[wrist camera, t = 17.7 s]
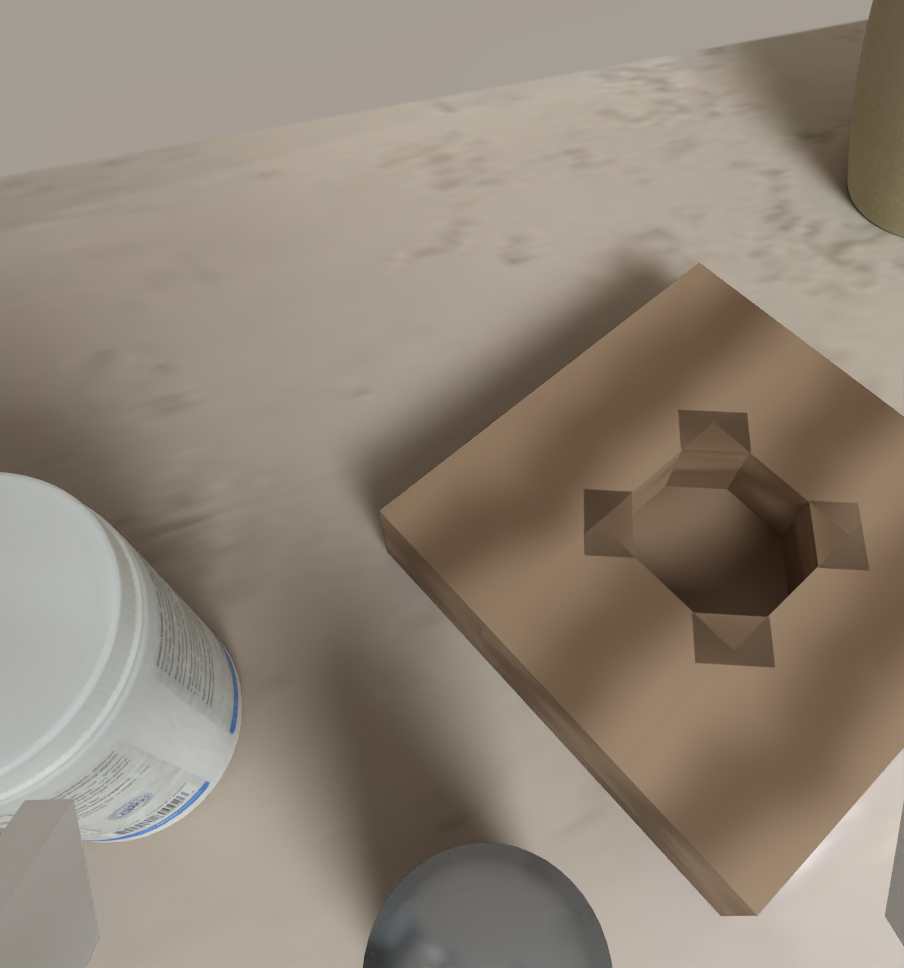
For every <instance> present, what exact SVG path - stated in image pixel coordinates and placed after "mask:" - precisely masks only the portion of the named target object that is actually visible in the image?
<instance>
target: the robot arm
mask: <svg viewBox="0 0 904 968" xmlns="http://www.w3.org/2000/svg"><path fill="white" fill-rule="evenodd" d="M885 917H886V918H887V920H888V922H889V923H890V925H891V926H892V928H893V930H894V931H895V933H896V935H897V936H898V938H899V939H900V941H901V943H902V944H903V946H904V804H903V810H902V816H901V822H900V828H899V834H898V840H897V846H896V852H895V858H894V864H893V870H892V876H891V882H890V888H889V894H888V900H887V906H886V912H885ZM99 939H100V933H99V928H98V922H97V917H96V912H95V907H94V902H93V897H92V892H91V886H90V881H89V876H88V871H87V866H86V861H85V855H84V850H83V845H82V840H81V835H80V830H79V824H78V819H77V814H76V809H75V804H74V799H53V800H25V801H24V802H23V804H22V805H21V806H20V808H19V809H18V811H17V812H16V813H15V815H14V816H13V818H12V819H11V820H10V822H9V823H8V825H7V826H6V827H5V829H4V830H3V832H2V833H1V835H0V968H86V966H87V964H88V962H89V960H90V958H91V956H92V953H93V951H94V949H95V947H96V945H97V943H98V941H99Z"/></svg>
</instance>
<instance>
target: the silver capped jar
mask: <svg viewBox="0 0 904 968" xmlns="http://www.w3.org/2000/svg"><path fill="white" fill-rule="evenodd" d="M363 968H612V962H611V958H610V954H609V949H608V945H607V942H606V939H605V936H604V933H603V931H602V928H601V925H600V923H599V921H598V919H597V917H596V915H595V913H594V911H593V909H592V908H591V906H590V905H589V903H588V902H587V900H586V899H585V897H584V896H583V894H582V893H581V892H580V891H579V889H578V888H577V887H576V886H575V885H574V883H573V882H572V881H571V880H570V879H569V878H568V877H566V876H565V875H564V874H563V873H562V872H561V871H560V870H559V869H557V868H556V867H555V866H553V865H552V864H551V863H549V862H548V861H546V860H544V859H543V858H541V857H539V856H537V855H535V854H533V853H531V852H529V851H526V850H523V849H521V848H518V847H514V846H510V845H505V844H498V843H471V844H466V845H461V846H456V847H453V848H451V849H448V850H445V851H442V852H440V853H438V854H436V855H434V856H432V857H430V858H428V859H427V860H425V861H424V862H423V863H421V864H420V865H418V866H417V867H415V868H414V869H413V870H412V871H411V872H410V873H409V874H408V875H406V876H405V877H404V878H403V879H402V880H401V882H400V883H399V884H398V885H397V886H396V887H395V889H394V890H393V891H392V892H391V894H390V895H389V897H388V898H387V900H386V901H385V903H384V905H383V906H382V908H381V910H380V912H379V914H378V916H377V918H376V920H375V922H374V925H373V928H372V931H371V933H370V936H369V939H368V943H367V947H366V952H365V956H364V964H363Z"/></svg>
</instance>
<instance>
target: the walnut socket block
mask: <svg viewBox="0 0 904 968" xmlns="http://www.w3.org/2000/svg"><path fill="white" fill-rule="evenodd" d="M380 516H381V521H382V526H383V531H384V536H385V540H386V545H387V550H388V553H389V554H390V555H391V556H392V557H393V558H394V559H395V561H396V562H397V563H398V564H399V565H400V566H401V567H402V568H403V569H404V570H405V571H406V573H407V574H408V575H409V576H410V577H411V578H412V579H413V580H414V581H415V582H416V583H417V585H418V586H419V587H420V588H421V589H422V590H423V591H424V592H425V593H426V594H427V595H428V597H429V598H430V599H431V600H432V601H433V602H434V603H435V604H436V605H437V606H438V607H439V609H440V610H441V611H442V612H443V613H444V614H445V615H446V616H447V617H448V618H449V619H450V621H451V622H452V623H453V624H454V625H455V626H456V627H457V628H458V629H459V630H460V631H461V633H462V634H463V635H464V636H465V637H466V638H467V639H468V640H469V641H470V642H471V644H472V645H473V646H474V647H475V648H476V649H477V650H478V651H479V652H480V653H481V654H482V656H483V657H484V658H485V659H486V660H487V661H488V662H489V663H490V664H491V665H492V666H493V668H494V669H495V670H496V671H497V672H498V673H499V674H500V675H501V676H502V677H503V678H504V680H505V681H506V682H507V683H508V684H509V685H510V686H511V687H512V688H513V689H514V690H515V692H516V693H517V694H518V695H519V696H520V697H521V698H522V699H523V700H524V701H525V702H526V704H527V705H528V706H529V707H530V708H531V709H532V710H533V711H534V712H535V713H536V714H537V716H538V717H539V718H540V719H541V720H542V721H543V722H544V723H545V724H546V725H547V726H548V728H549V729H550V730H551V731H552V732H553V733H554V734H555V735H556V736H557V737H558V738H559V740H560V741H561V742H562V743H563V744H564V745H565V746H566V747H567V748H568V749H569V751H570V752H571V753H572V754H573V755H574V756H575V757H576V758H577V759H578V760H579V761H580V763H581V764H582V765H583V766H584V767H585V768H586V769H587V770H588V771H589V772H590V773H591V775H592V776H593V777H594V778H595V779H596V780H597V781H598V782H599V783H600V784H601V785H602V787H603V788H604V789H605V790H606V791H607V792H608V793H609V794H610V795H611V796H612V797H613V799H614V800H615V801H616V802H617V803H618V804H619V805H620V806H621V807H622V808H623V809H624V811H625V812H626V813H627V814H628V815H629V816H630V817H631V818H632V819H633V820H634V821H635V823H636V824H637V825H638V826H639V827H640V828H641V829H642V830H643V831H644V832H645V833H646V835H647V836H648V837H649V838H650V839H651V840H652V841H653V842H654V843H655V844H656V845H657V847H658V848H659V849H660V850H661V851H662V852H663V853H664V854H665V855H666V856H667V858H668V859H669V860H670V861H671V862H672V863H673V864H674V865H675V866H676V867H677V868H678V870H679V871H680V872H681V873H682V874H683V875H684V876H685V877H686V878H687V879H688V880H689V882H690V883H691V884H692V885H693V886H694V887H695V888H696V889H697V890H698V891H699V892H700V894H701V895H702V896H703V897H704V898H705V899H706V900H707V901H708V902H709V903H710V904H711V906H712V907H713V908H714V909H715V910H716V911H717V912H718V913H719V914H720V915H721V916H758V914H759V913H760V912H761V911H762V910H763V909H764V907H765V906H766V905H767V904H768V903H769V902H770V901H771V899H772V898H773V897H774V896H775V895H776V894H777V893H778V891H779V890H780V889H781V888H782V887H783V886H784V884H785V883H786V882H787V881H788V880H789V879H790V878H791V876H792V875H793V874H794V873H795V872H796V871H797V870H798V868H799V867H800V866H801V865H802V864H803V863H804V862H805V860H806V859H807V858H808V857H809V856H810V855H811V853H812V852H813V851H814V850H815V849H816V848H817V847H818V845H819V844H820V843H821V842H822V841H823V840H824V839H825V837H826V836H827V835H828V834H829V833H830V832H831V830H832V829H833V828H834V827H835V826H836V825H837V824H838V822H839V821H840V820H841V819H842V818H843V817H844V816H845V814H846V813H847V812H848V811H849V810H850V809H851V807H852V806H853V805H854V804H855V803H856V802H857V801H858V799H859V798H860V797H861V796H862V795H863V794H864V793H865V791H866V790H867V789H868V788H869V787H870V786H871V784H872V783H873V782H874V781H875V780H876V779H877V778H878V776H879V775H880V774H881V773H882V772H883V771H884V770H885V768H886V767H887V766H888V765H889V764H890V763H891V761H892V760H893V759H894V758H895V757H896V756H897V755H898V753H899V752H900V751H901V750H902V749H903V748H904V416H902V415H901V414H900V413H898V412H897V411H896V410H894V409H893V408H892V407H890V406H889V405H888V404H886V403H885V402H884V401H882V400H881V399H880V398H878V397H877V396H876V395H874V394H873V393H872V392H870V391H869V390H868V389H866V388H865V387H864V386H862V385H861V384H860V383H858V382H857V381H856V380H854V379H853V378H852V377H850V376H849V375H848V374H846V373H845V372H844V371H843V370H841V369H840V368H839V367H837V366H836V365H835V364H833V363H832V362H831V361H829V360H828V359H827V358H825V357H824V356H823V355H821V354H820V353H819V352H817V351H816V350H815V349H813V348H812V347H811V346H809V345H808V344H807V343H805V342H804V341H803V340H801V339H800V338H799V337H797V336H796V335H795V334H793V333H792V332H791V331H789V330H788V329H787V328H785V327H784V326H783V325H781V324H780V323H779V322H777V321H776V320H775V319H773V318H772V317H771V316H769V315H768V314H767V313H765V312H764V311H763V310H761V309H760V308H759V307H758V306H756V305H755V304H754V303H752V302H751V301H750V300H748V299H747V298H746V297H744V296H743V295H742V294H740V293H739V292H738V291H736V290H735V289H734V288H732V287H731V286H730V285H728V284H727V283H726V282H724V281H723V280H722V279H720V278H719V277H718V276H716V275H715V274H714V273H712V272H711V271H710V270H708V269H707V268H706V267H704V266H703V265H702V264H700V263H698V264H697V265H696V266H694V267H693V268H692V269H690V270H689V271H688V272H686V273H685V274H684V275H683V276H681V277H680V278H679V279H677V280H676V281H675V282H674V283H672V284H671V285H670V286H668V287H667V288H666V289H665V290H663V291H662V292H661V293H659V294H658V295H657V296H656V297H654V298H653V299H652V300H650V301H649V302H648V303H647V304H645V305H644V306H643V307H641V308H640V309H639V310H637V311H636V312H635V313H634V314H632V315H631V316H630V317H628V318H627V319H626V320H625V321H623V322H622V323H621V324H619V325H618V326H617V327H616V328H614V329H613V330H612V331H610V332H609V333H608V334H607V335H605V336H604V337H603V338H601V339H600V340H599V341H598V342H596V343H595V344H594V345H592V346H591V347H590V348H589V349H587V350H586V351H585V352H583V353H582V354H581V355H579V356H578V357H577V358H576V359H574V360H573V361H572V362H570V363H569V364H568V365H567V366H565V367H564V368H563V369H561V370H560V371H559V372H558V373H556V374H555V375H554V376H552V377H551V378H550V379H549V380H547V381H546V382H545V383H543V384H542V385H541V386H540V387H538V388H537V389H536V390H534V391H533V392H532V393H531V394H529V395H528V396H527V397H525V398H524V399H523V400H521V401H520V402H519V403H518V404H516V405H515V406H514V407H512V408H511V409H510V410H509V411H507V412H506V413H505V414H503V415H502V416H501V417H500V418H498V419H497V420H496V421H494V422H493V423H492V424H491V425H489V426H488V427H487V428H485V429H484V430H483V431H482V432H480V433H479V434H478V435H476V436H475V437H474V438H473V439H471V440H470V441H469V442H467V443H466V444H465V445H463V446H462V447H461V448H460V449H458V450H457V451H456V452H454V453H453V454H452V455H451V456H449V457H448V458H447V459H445V460H444V461H443V462H442V463H440V464H439V465H438V466H436V467H435V468H434V469H433V470H431V471H430V472H429V473H427V474H426V475H425V476H424V477H422V478H421V479H420V480H418V481H417V482H416V483H415V484H413V485H412V486H411V487H409V488H408V489H407V490H405V491H404V492H403V493H402V494H400V495H399V496H398V497H396V498H395V499H394V500H393V501H391V502H390V503H389V504H387V505H386V506H385V507H384V508H382V509H381V510H380Z"/></svg>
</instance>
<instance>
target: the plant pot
mask: <svg viewBox="0 0 904 968" xmlns="http://www.w3.org/2000/svg"><path fill="white" fill-rule="evenodd" d="M847 186H848V191H849V194H850V197H851V199H852V201H853V203H854V204H855V206H856V207H857V208H858V210H859V211H860V212H861V213H862V214H863V215H864V216H865V217H866V218H867V219H868V220H870V221H871V222H872V223H874V224H875V225H877V226H878V227H880V228H882V229H883V230H886V231H888V232H890V233H893V234H895V235H899V236H902V237H904V0H873V3H872V7H871V12H870V16H869V20H868V24H867V29H866V34H865V39H864V44H863V49H862V54H861V60H860V65H859V71H858V77H857V83H856V89H855V96H854V103H853V111H852V120H851V129H850V140H849V153H848V173H847Z"/></svg>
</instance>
